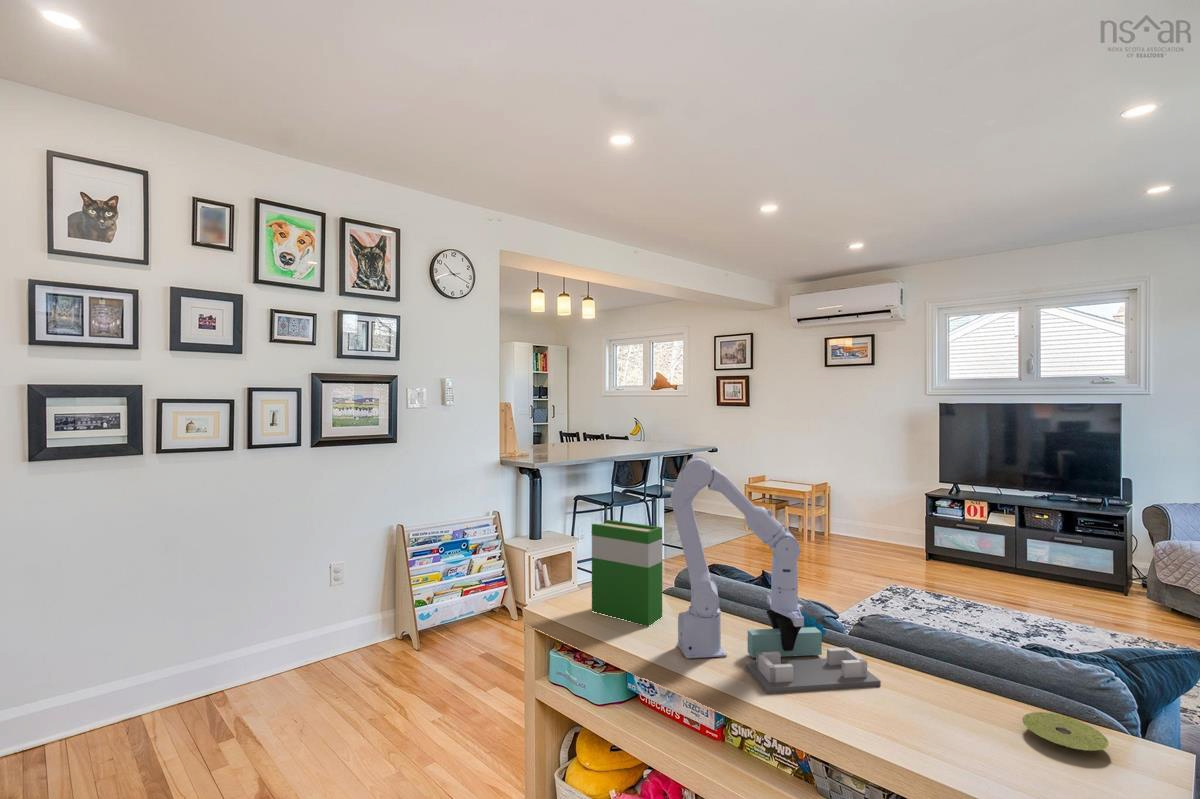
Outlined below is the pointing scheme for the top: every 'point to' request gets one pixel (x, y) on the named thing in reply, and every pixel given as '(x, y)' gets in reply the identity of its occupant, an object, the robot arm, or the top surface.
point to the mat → (1065, 731)
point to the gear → (812, 623)
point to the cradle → (811, 672)
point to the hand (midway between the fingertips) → (784, 646)
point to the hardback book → (627, 571)
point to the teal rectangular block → (771, 642)
